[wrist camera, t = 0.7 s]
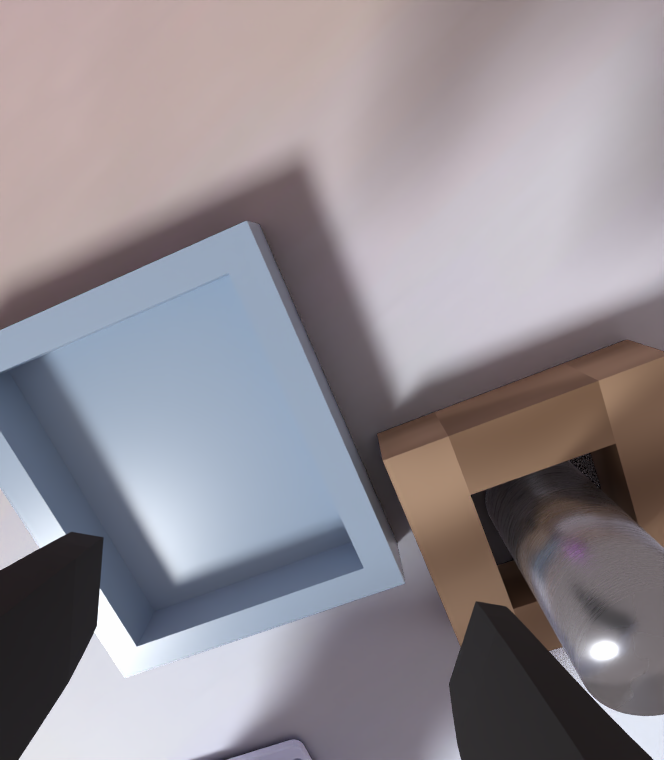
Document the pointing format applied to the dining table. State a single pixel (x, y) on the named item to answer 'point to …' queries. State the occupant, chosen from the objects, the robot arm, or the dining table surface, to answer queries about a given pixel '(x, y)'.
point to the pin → (590, 581)
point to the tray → (191, 453)
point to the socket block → (528, 466)
